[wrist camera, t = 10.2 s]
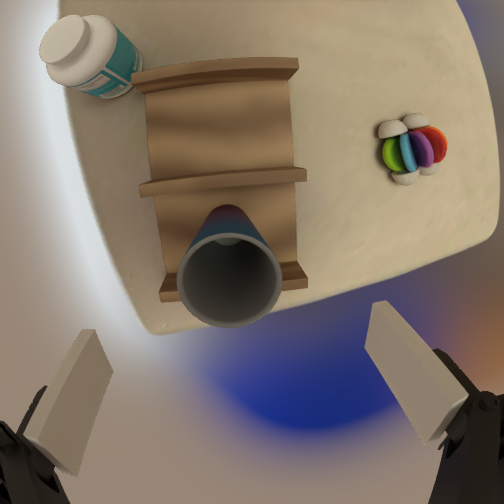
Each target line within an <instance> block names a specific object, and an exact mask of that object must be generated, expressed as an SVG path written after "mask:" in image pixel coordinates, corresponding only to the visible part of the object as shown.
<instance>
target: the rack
mask: <svg viewBox="0 0 504 504" xmlns="http://www.w3.org/2000/svg"><path fill="white" fill-rule="evenodd" d="M298 69H299V63H298V58H286V57H251V58H230V59H217V60H207V61H198V62H190V63H183V64H177V65H171V66H165V67H160V68H154V69H150V70H145V71H140V72H136V73H132V74H131V85H133V86H134V87H136V88H137V89H139V90H140V91H142V92H143V93H144V94H145V103H146V121H147V135H148V147H149V158H150V167H151V176H152V180H151V181H148V182H146V183H143V184H141V185H139V189H140V197H147V196H154V200H155V207H156V214H157V221H158V227H159V233H160V239H161V245H162V250H163V256H164V261H165V266H166V271H167V274H166V277H165V279H164V281H163V284H162V286H161V288H160V291H159V296H160V301H161V302H173V301H182V300H181V298H180V295H179V293H178V288H177V272H178V268H179V264H180V262H181V261H182V259H183V257H184V255H185V253H186V251H187V250H188V248H189V246H190V245H191V243H192V241H193V240H194V238H195V236H196V235H197V233H198V231H199V230H200V228H201V226H202V225H203V223H204V222H205V220H206V218H207V217H208V215H209V214H210V212H211V211H212V210H213V209H215V208H216V207H218V206H221V205H225V204H230V205H235V206H237V207H239V208H241V209H242V210H243V211H244V212H245V213H246V215H247V216H248V217H249V219H250V220H251V222H252V223H253V225H254V226H255V228H256V229H257V230H258V232H259V233H260V235H261V236H262V238H263V239H264V240H265V242H266V243H267V245H268V246H269V248H270V249H271V251H272V252H273V253H274V255H275V256H276V258H277V260H278V262H279V265H280V268H281V272H282V288H281V291H287V290H295V289H303V288H308V277H307V276H306V274H305V273H304V271H303V270H302V268H301V267H300V265H299V263H298V262H297V243H296V204H295V182H303V181H307V171H306V169H304V168H299V167H294V158H293V141H292V126H291V112H290V100H289V88H288V80H289V79H290V78H291V77H292V76H293V75H294V73H295V72H296V71H297V70H298Z"/></svg>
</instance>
